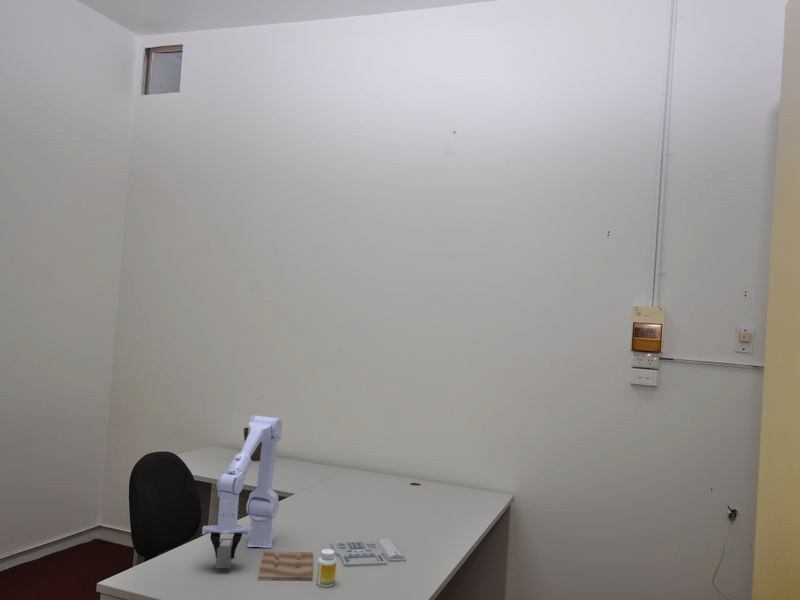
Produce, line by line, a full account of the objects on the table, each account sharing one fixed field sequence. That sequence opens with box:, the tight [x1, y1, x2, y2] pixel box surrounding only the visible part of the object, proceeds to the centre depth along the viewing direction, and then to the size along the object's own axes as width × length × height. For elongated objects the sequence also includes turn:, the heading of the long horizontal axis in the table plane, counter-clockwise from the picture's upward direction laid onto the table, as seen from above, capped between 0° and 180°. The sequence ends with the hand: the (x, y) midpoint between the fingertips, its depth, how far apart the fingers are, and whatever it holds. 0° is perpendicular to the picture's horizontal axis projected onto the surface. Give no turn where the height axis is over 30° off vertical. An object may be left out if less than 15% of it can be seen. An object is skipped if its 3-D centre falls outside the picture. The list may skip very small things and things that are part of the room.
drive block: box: [215, 537, 233, 569], centre depth 194 cm, size 8×4×6 cm, turn 7°
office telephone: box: [330, 538, 407, 568], centre depth 214 cm, size 23×3×20 cm
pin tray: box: [257, 550, 314, 582], centre depth 199 cm, size 20×16×3 cm
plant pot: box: [243, 426, 262, 462], centre depth 336 cm, size 15×15×16 cm
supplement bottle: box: [316, 548, 337, 588], centre depth 188 cm, size 5×5×10 cm
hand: (225, 557), depth 194 cm, fingers closed on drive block, 4 cm apart
